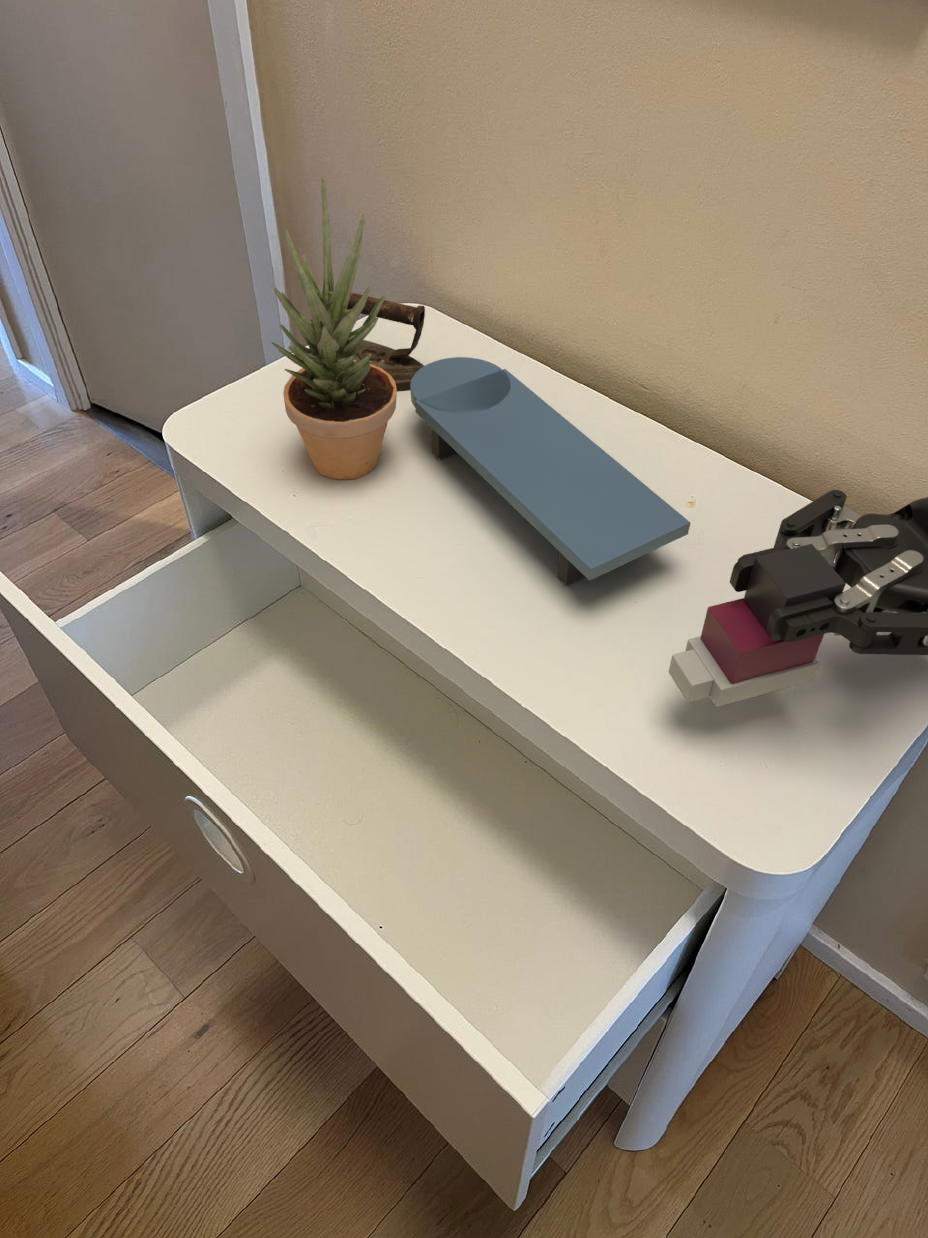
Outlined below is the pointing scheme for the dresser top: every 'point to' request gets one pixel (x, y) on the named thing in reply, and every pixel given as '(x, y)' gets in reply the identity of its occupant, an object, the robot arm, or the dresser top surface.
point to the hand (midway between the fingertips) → (753, 601)
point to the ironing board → (543, 467)
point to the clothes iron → (389, 358)
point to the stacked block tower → (756, 633)
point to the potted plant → (335, 368)
